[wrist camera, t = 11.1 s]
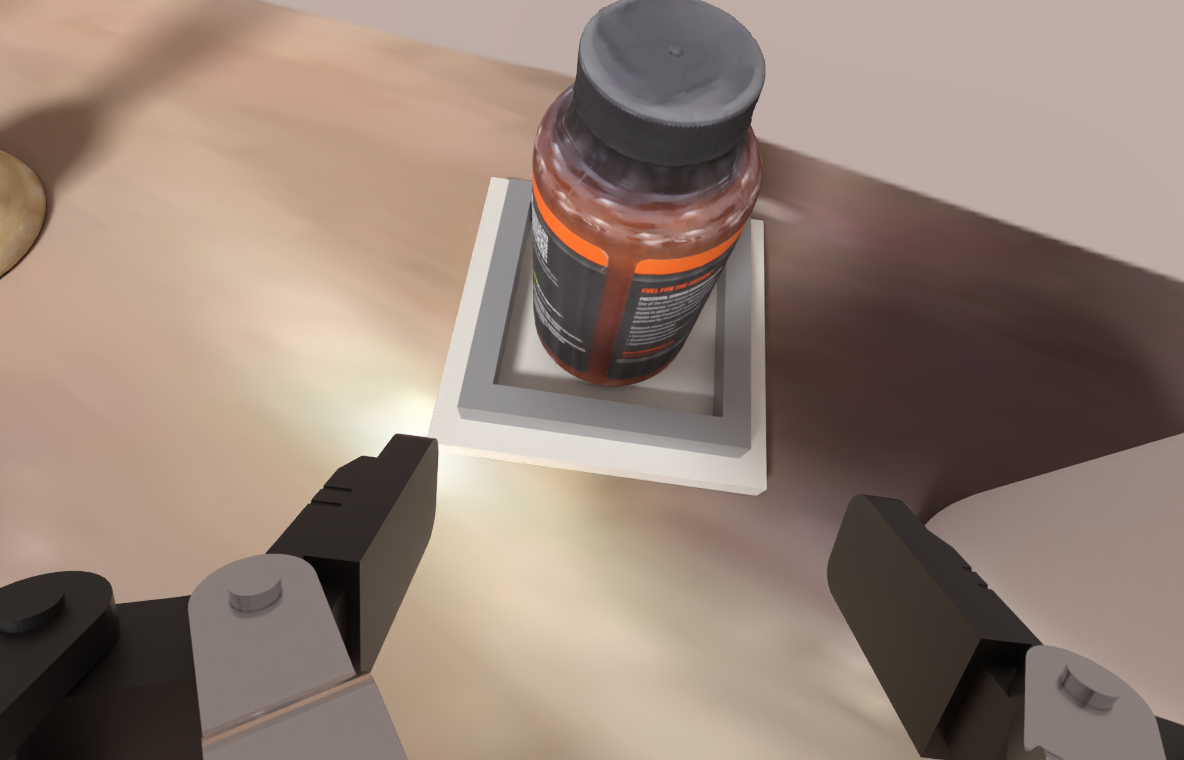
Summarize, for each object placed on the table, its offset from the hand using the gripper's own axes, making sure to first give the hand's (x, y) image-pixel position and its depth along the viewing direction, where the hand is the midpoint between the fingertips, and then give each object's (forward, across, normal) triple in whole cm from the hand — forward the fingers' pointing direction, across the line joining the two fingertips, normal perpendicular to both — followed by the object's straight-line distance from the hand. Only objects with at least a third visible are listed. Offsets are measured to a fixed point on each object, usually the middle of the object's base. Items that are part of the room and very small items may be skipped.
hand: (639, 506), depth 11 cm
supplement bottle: (+12, 0, 0) cm, 12 cm away
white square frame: (+13, 0, 0) cm, 13 cm away
